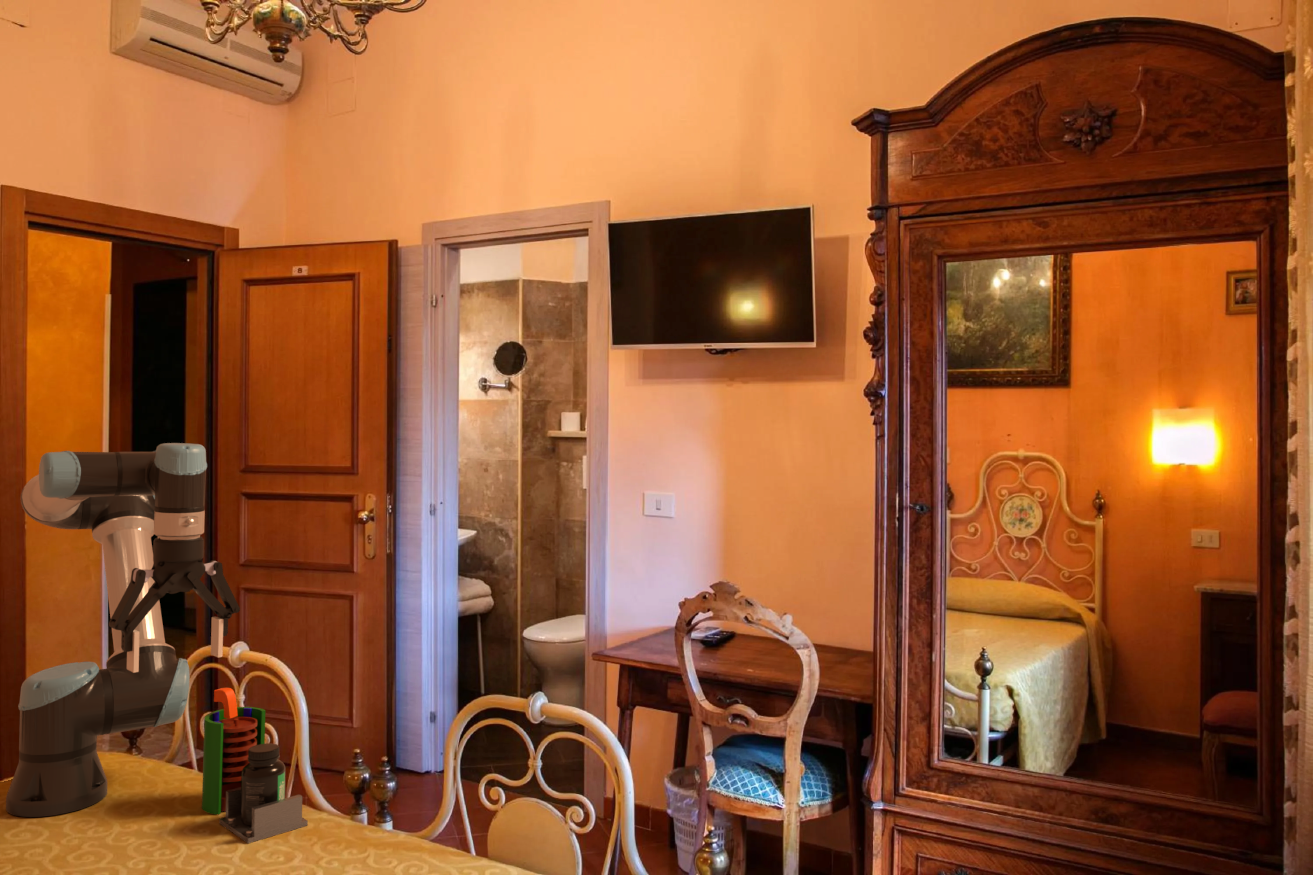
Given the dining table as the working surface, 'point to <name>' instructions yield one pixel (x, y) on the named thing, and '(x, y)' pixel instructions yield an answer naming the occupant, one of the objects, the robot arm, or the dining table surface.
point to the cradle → (263, 817)
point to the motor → (228, 747)
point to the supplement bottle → (261, 779)
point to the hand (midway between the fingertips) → (175, 662)
